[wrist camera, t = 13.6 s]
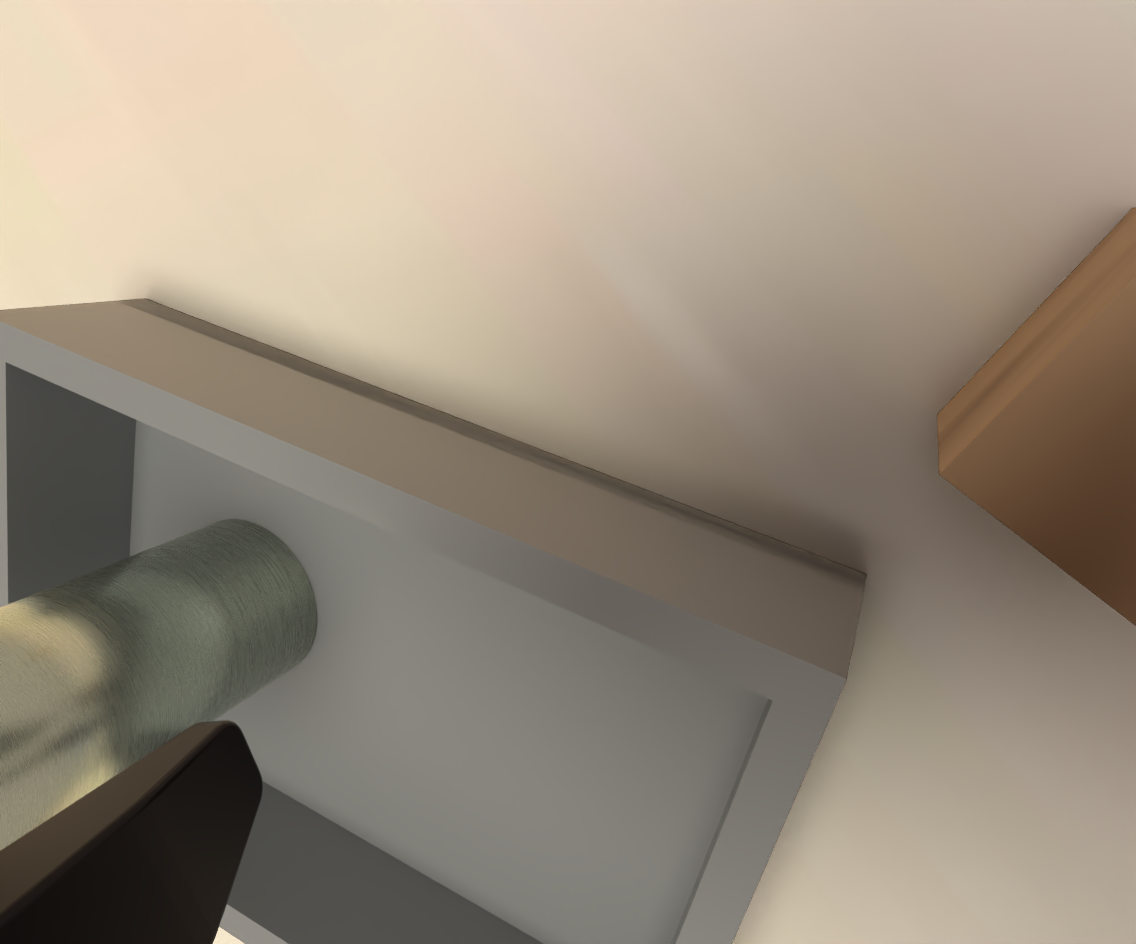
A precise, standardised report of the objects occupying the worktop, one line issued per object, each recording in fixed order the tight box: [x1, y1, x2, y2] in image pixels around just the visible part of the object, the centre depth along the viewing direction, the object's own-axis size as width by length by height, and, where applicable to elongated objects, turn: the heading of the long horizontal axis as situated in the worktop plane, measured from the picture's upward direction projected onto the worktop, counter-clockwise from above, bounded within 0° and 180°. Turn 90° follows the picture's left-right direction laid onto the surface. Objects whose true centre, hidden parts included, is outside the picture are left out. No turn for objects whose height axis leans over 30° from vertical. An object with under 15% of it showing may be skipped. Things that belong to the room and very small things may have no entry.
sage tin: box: [0, 519, 317, 850], centre depth 20 cm, size 5×5×12 cm
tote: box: [0, 299, 866, 944], centre depth 22 cm, size 22×15×5 cm
